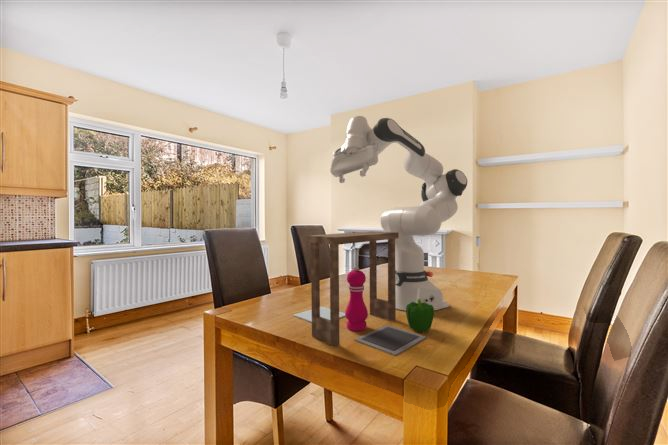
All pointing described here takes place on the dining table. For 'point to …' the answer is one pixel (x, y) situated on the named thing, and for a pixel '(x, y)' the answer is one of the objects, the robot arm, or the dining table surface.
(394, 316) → the walnut tunnel
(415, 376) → the dining table surface
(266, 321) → the dining table surface
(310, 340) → the dining table surface
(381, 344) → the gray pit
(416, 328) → the bell pepper
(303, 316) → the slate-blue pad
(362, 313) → the pepper mill
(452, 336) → the dining table surface
